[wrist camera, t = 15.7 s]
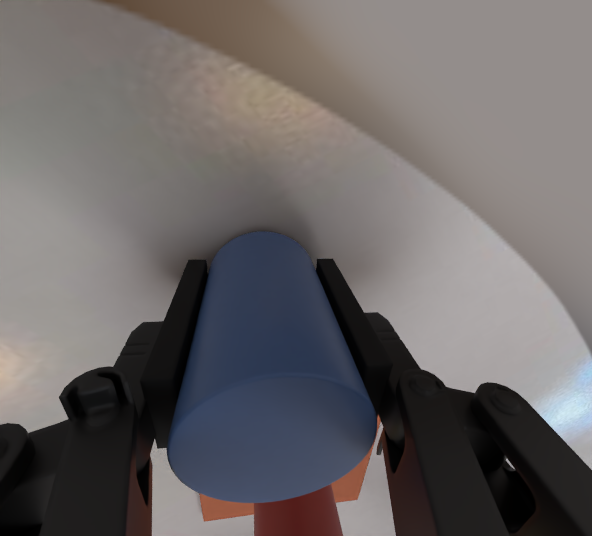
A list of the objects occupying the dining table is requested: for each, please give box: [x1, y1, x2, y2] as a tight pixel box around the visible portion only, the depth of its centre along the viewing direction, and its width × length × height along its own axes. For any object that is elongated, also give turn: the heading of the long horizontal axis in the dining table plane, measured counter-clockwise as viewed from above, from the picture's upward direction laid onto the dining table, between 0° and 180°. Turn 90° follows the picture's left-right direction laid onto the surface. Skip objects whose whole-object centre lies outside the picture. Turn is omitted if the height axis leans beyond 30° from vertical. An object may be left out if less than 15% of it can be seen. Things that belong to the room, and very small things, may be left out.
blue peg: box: [167, 231, 377, 503], centre depth 10 cm, size 5×5×8 cm
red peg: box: [254, 484, 343, 536], centre depth 17 cm, size 5×5×8 cm
